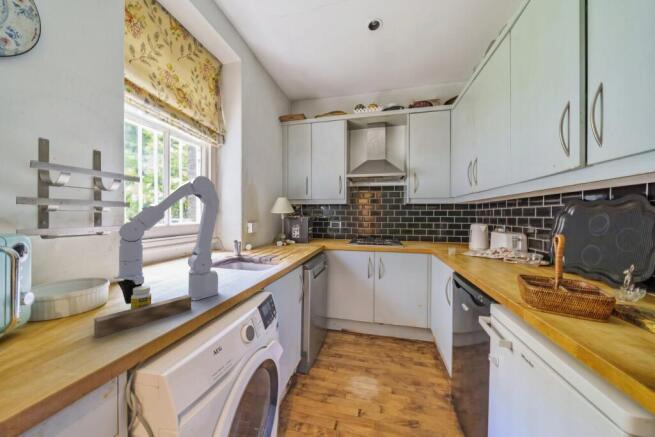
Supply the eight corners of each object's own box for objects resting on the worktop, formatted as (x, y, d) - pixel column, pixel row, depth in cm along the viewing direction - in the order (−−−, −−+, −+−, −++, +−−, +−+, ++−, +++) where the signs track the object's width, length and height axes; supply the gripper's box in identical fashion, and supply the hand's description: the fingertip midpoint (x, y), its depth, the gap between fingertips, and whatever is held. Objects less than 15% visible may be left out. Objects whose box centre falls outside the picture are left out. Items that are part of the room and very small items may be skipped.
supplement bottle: (138, 320, 67) (138, 290, 67) (126, 318, 68) (126, 289, 68) (154, 313, 72) (155, 286, 71) (143, 311, 73) (143, 284, 73)
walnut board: (186, 307, 77) (186, 294, 77) (191, 309, 76) (191, 296, 76) (94, 334, 59) (94, 318, 59) (97, 337, 57) (97, 321, 57)
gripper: (106, 259, 75) (106, 301, 75) (123, 265, 67) (122, 312, 67) (134, 256, 81) (133, 295, 81) (152, 261, 73) (151, 305, 73)
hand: (130, 302), depth 75 cm, fingers closed
